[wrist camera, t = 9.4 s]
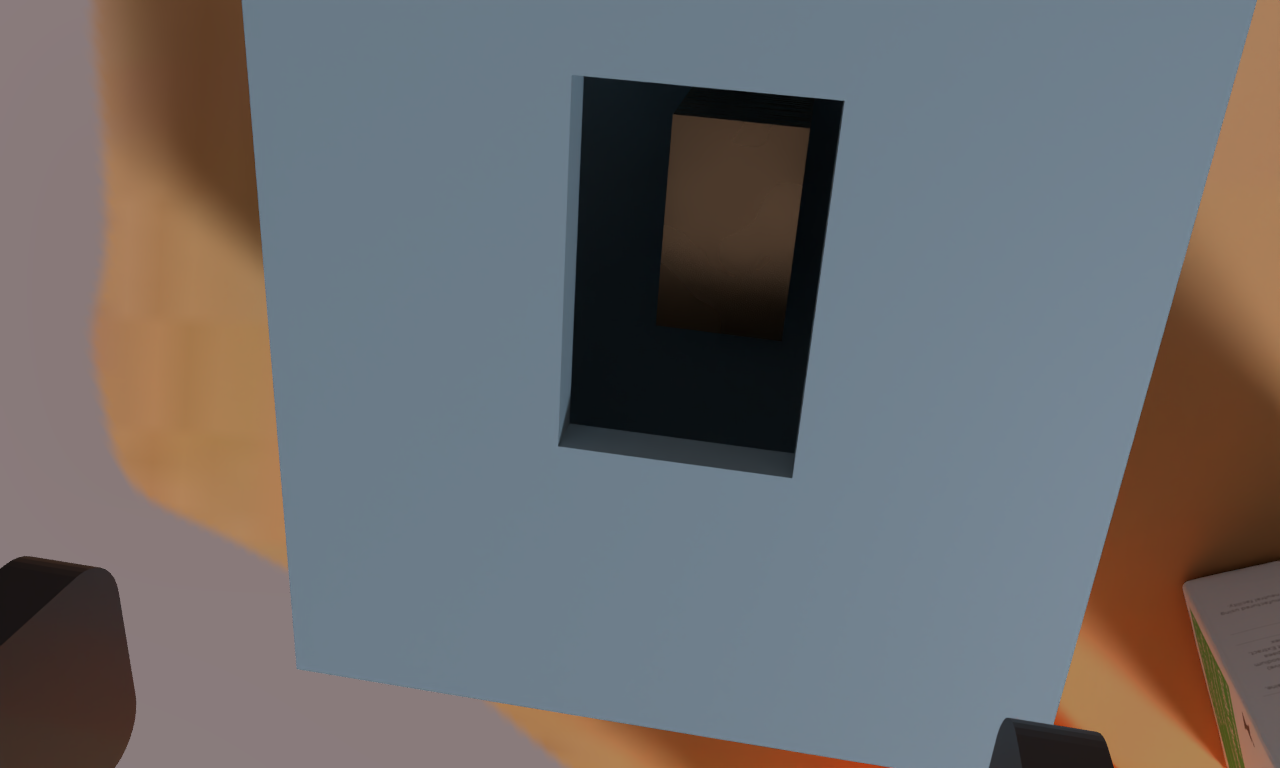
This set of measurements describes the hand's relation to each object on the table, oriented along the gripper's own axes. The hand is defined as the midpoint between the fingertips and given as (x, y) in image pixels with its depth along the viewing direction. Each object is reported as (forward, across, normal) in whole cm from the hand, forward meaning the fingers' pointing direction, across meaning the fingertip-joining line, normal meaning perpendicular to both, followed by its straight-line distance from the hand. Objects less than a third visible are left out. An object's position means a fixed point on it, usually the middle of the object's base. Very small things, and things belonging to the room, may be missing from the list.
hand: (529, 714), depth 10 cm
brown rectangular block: (+22, 0, +1) cm, 22 cm away
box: (+23, 0, 0) cm, 23 cm away
